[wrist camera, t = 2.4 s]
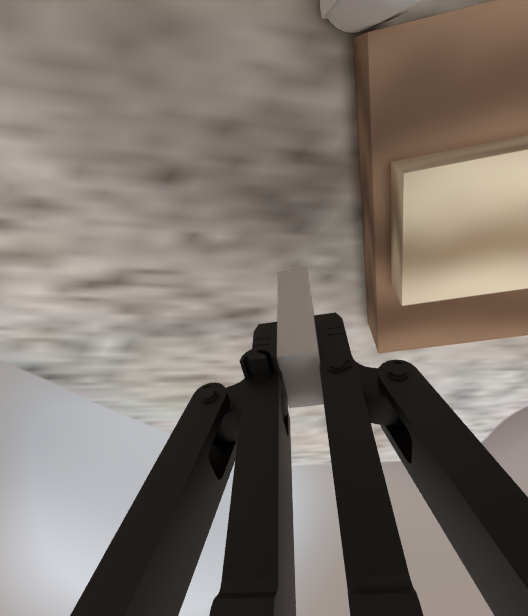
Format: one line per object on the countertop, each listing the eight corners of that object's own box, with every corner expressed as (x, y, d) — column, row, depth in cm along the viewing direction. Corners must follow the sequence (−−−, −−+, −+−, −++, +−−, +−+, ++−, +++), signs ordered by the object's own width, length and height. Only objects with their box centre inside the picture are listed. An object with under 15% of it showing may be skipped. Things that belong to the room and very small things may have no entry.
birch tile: (390, 161, 20) (403, 173, 18) (549, 130, 18) (583, 138, 16) (391, 285, 24) (401, 305, 22) (520, 266, 23) (543, 286, 21)
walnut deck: (353, 37, 20) (367, 32, 16) (593, -23, 18) (663, -42, 15) (367, 322, 31) (378, 353, 27) (518, 302, 29) (549, 332, 26)
